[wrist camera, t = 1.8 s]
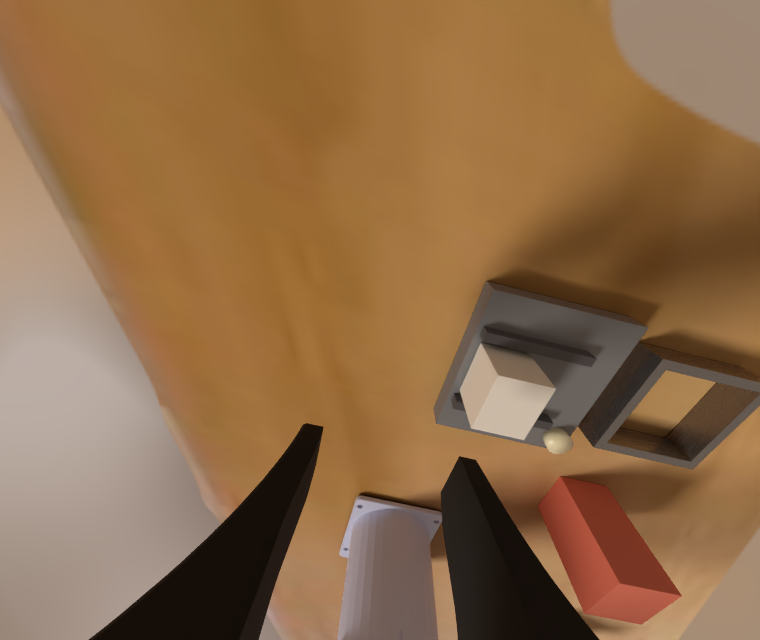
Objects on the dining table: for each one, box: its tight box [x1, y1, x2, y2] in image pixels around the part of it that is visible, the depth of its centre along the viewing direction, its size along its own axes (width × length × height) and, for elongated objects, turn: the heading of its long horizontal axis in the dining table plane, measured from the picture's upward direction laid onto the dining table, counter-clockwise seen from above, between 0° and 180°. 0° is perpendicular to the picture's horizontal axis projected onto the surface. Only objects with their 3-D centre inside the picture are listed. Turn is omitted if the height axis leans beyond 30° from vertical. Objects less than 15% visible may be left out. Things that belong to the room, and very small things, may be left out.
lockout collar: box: [578, 342, 760, 469], centre depth 19 cm, size 7×7×2 cm
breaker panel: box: [434, 281, 648, 454], centre depth 18 cm, size 10×9×2 cm
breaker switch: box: [460, 343, 556, 440], centre depth 16 cm, size 4×3×3 cm
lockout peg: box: [538, 476, 682, 624], centre depth 21 cm, size 4×4×7 cm
